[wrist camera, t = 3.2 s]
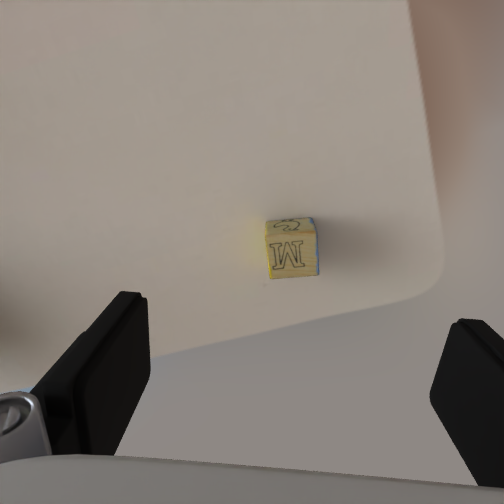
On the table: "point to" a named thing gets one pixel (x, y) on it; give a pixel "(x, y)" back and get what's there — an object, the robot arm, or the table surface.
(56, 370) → the robot arm
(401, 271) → the table surface
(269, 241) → the alphabet block
